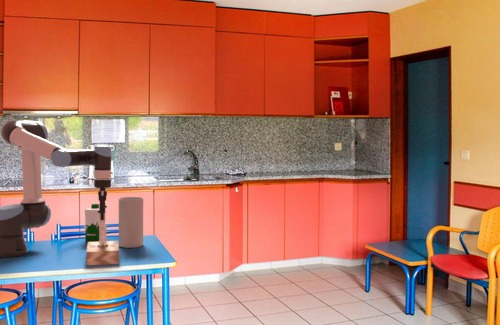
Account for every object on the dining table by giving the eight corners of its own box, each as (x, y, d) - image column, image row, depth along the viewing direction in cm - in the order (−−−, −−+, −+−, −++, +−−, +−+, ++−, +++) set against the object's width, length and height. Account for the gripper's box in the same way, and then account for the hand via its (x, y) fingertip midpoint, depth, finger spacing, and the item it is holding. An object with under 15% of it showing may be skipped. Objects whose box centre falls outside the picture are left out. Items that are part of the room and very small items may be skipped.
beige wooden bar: (99, 259, 233) (99, 225, 232) (99, 258, 236) (99, 224, 235) (106, 259, 234) (106, 225, 233) (106, 257, 237) (106, 224, 236)
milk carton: (104, 239, 278) (104, 203, 277) (98, 243, 269) (98, 206, 268) (89, 239, 278) (88, 203, 278) (82, 242, 269) (82, 205, 268)
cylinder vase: (141, 242, 272) (141, 196, 270) (144, 247, 260) (144, 199, 259) (117, 244, 267) (117, 197, 266) (120, 249, 256) (120, 200, 254)
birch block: (86, 265, 222) (86, 252, 222) (88, 254, 243) (88, 242, 243) (118, 263, 226) (118, 250, 226) (117, 252, 247) (117, 240, 247)
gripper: (111, 181, 222) (110, 229, 223) (110, 176, 246) (110, 219, 247) (93, 181, 220) (93, 229, 221) (94, 176, 244) (94, 219, 245)
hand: (102, 224), depth 234 cm, fingers open, 13 cm apart
